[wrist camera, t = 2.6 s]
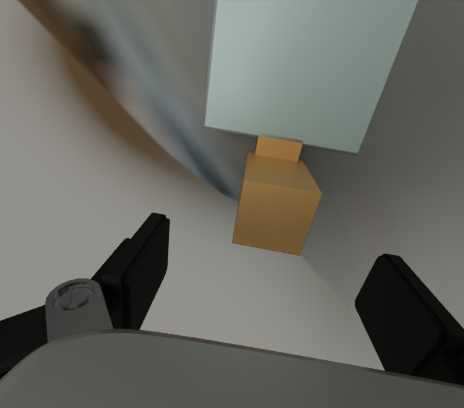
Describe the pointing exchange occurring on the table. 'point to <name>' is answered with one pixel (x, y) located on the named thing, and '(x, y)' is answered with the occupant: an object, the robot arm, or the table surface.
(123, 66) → the table surface
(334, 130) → the tool with wooden handle
